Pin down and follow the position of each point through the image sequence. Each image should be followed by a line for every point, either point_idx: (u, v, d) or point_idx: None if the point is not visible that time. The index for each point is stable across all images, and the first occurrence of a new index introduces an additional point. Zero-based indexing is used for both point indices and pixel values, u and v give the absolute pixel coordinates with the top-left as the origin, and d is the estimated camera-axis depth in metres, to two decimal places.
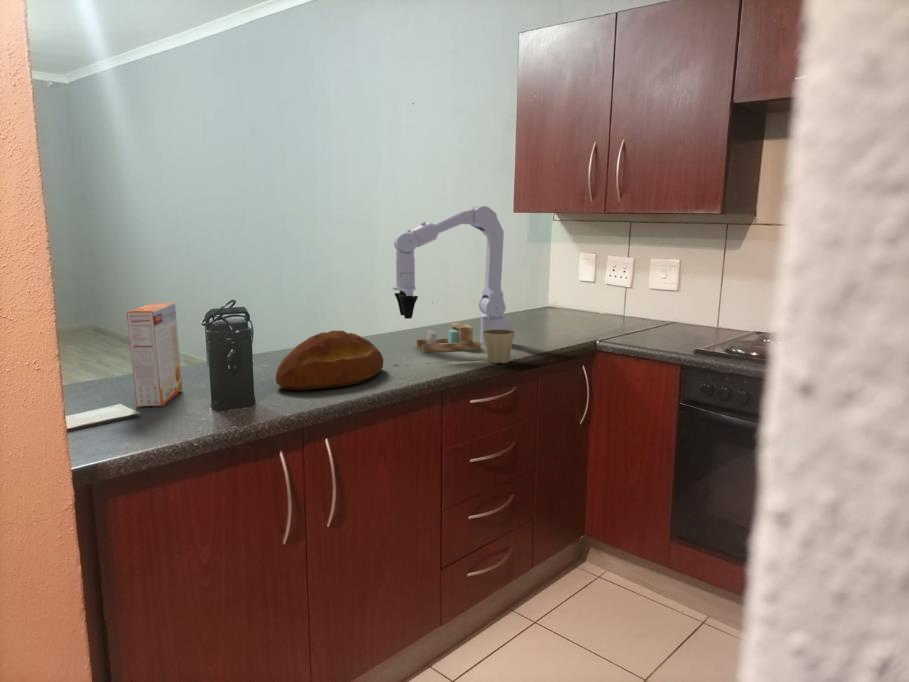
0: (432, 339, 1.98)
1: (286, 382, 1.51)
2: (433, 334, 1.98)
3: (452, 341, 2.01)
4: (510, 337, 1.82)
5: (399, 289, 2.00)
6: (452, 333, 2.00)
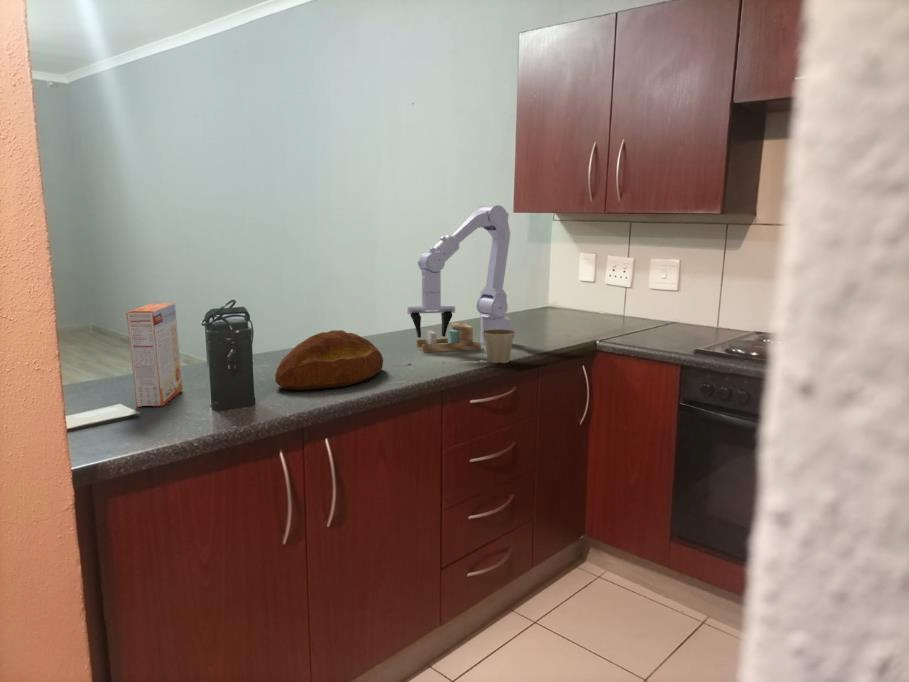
0: (432, 339, 1.98)
1: (286, 382, 1.51)
2: (433, 334, 1.98)
3: (452, 341, 2.01)
4: (510, 337, 1.82)
5: None
6: (452, 333, 2.00)
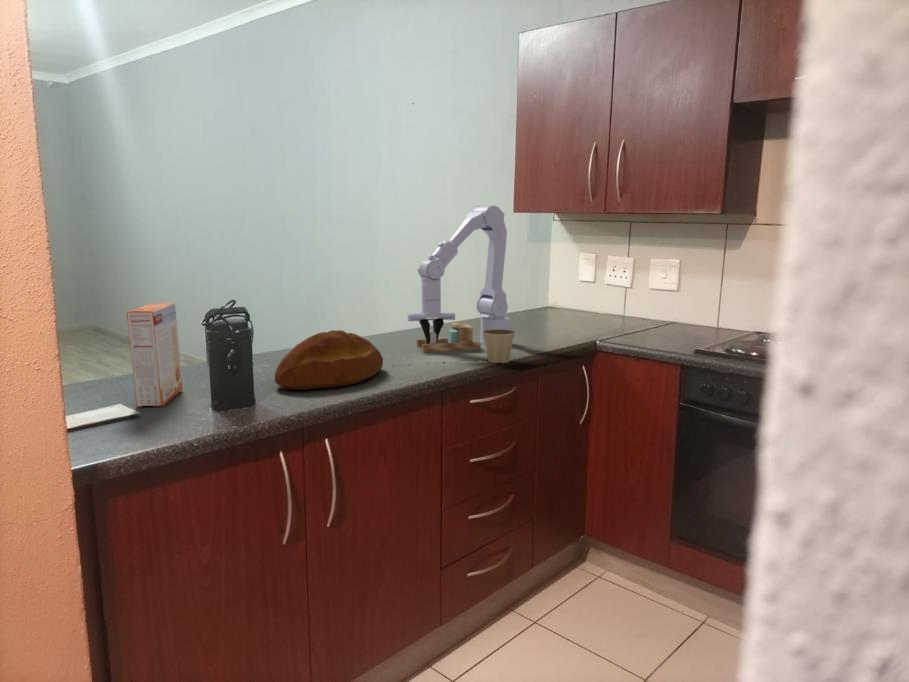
0: (432, 339, 1.98)
1: (285, 382, 1.52)
2: (433, 334, 1.98)
3: (452, 341, 2.01)
4: (510, 337, 1.82)
5: None
6: (452, 333, 2.00)
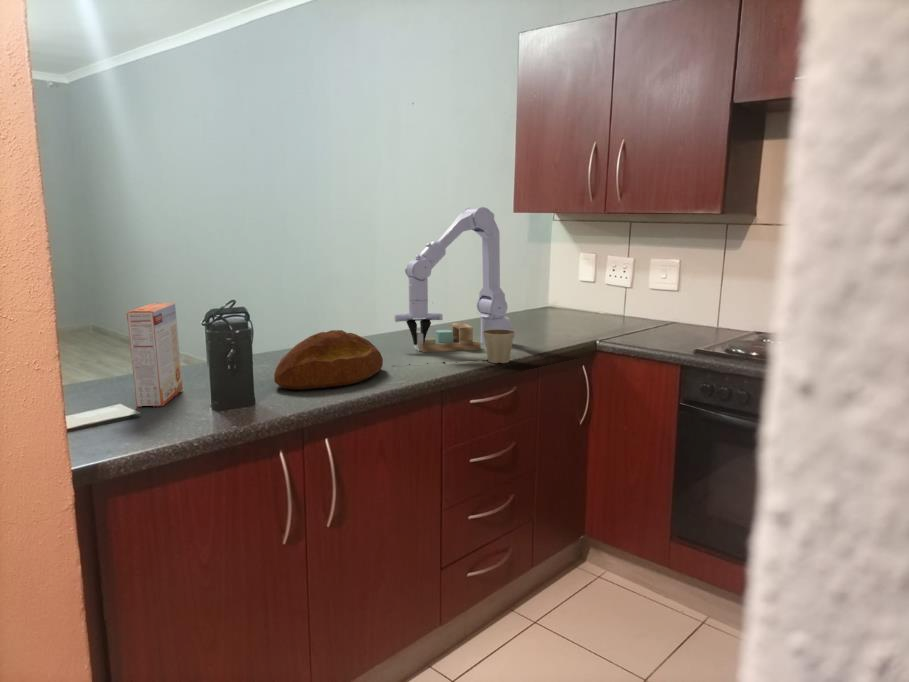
0: (419, 340, 1.97)
1: (284, 381, 1.52)
2: (420, 335, 1.97)
3: (439, 342, 2.00)
4: (510, 337, 1.82)
5: None
6: (439, 334, 1.99)
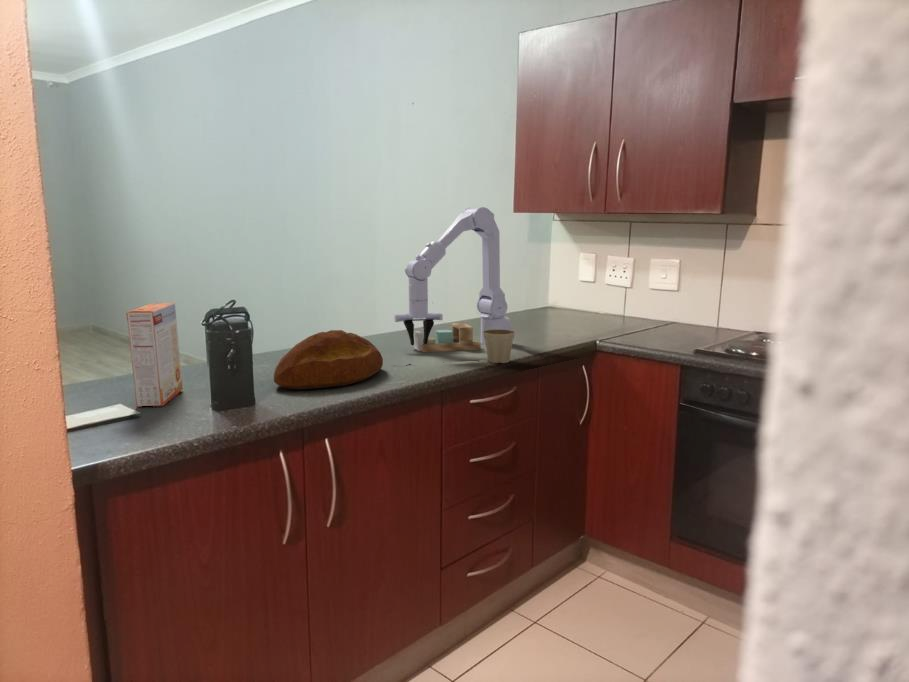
0: (419, 340, 1.97)
1: (284, 381, 1.52)
2: (420, 335, 1.97)
3: (439, 342, 2.00)
4: (510, 337, 1.82)
5: None
6: (439, 334, 1.99)
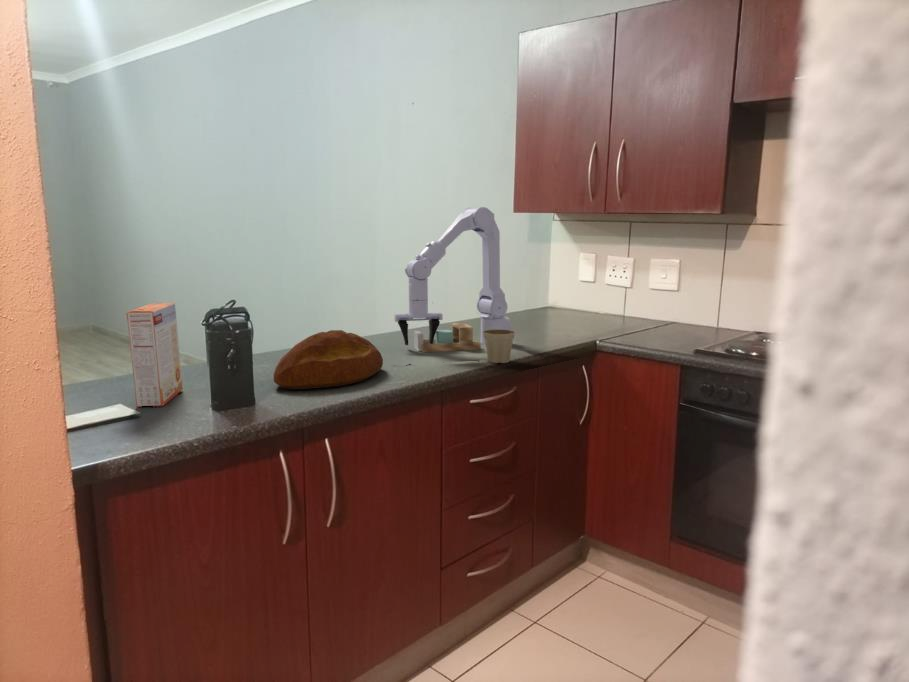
0: (419, 340, 1.97)
1: (283, 381, 1.52)
2: (420, 335, 1.97)
3: (439, 342, 2.00)
4: (510, 337, 1.82)
5: None
6: (439, 334, 1.99)
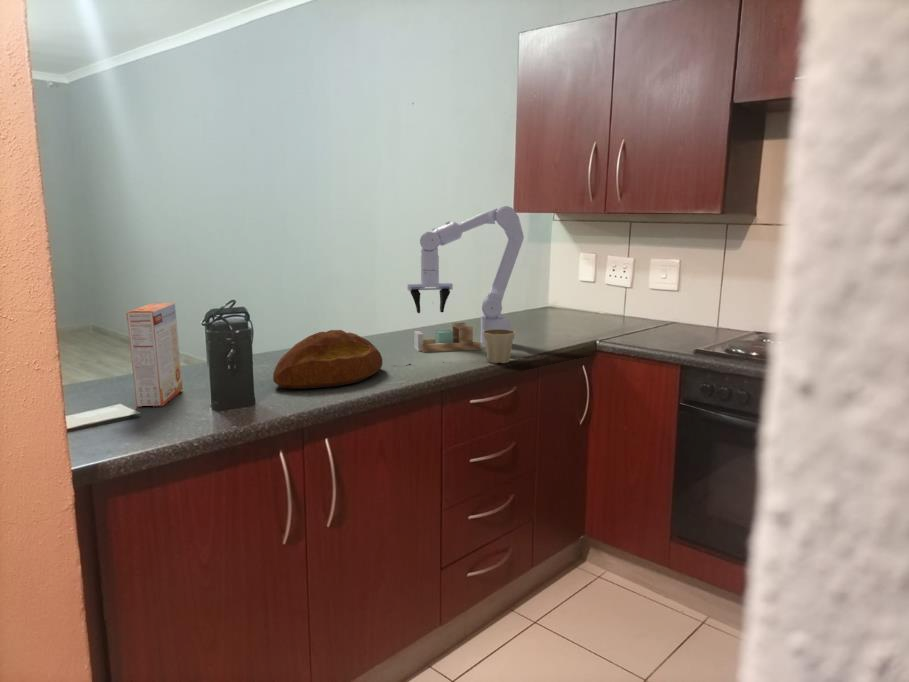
0: (419, 340, 1.97)
1: (283, 381, 1.52)
2: (420, 335, 1.97)
3: (439, 342, 2.00)
4: (510, 337, 1.82)
5: None
6: (439, 334, 1.99)
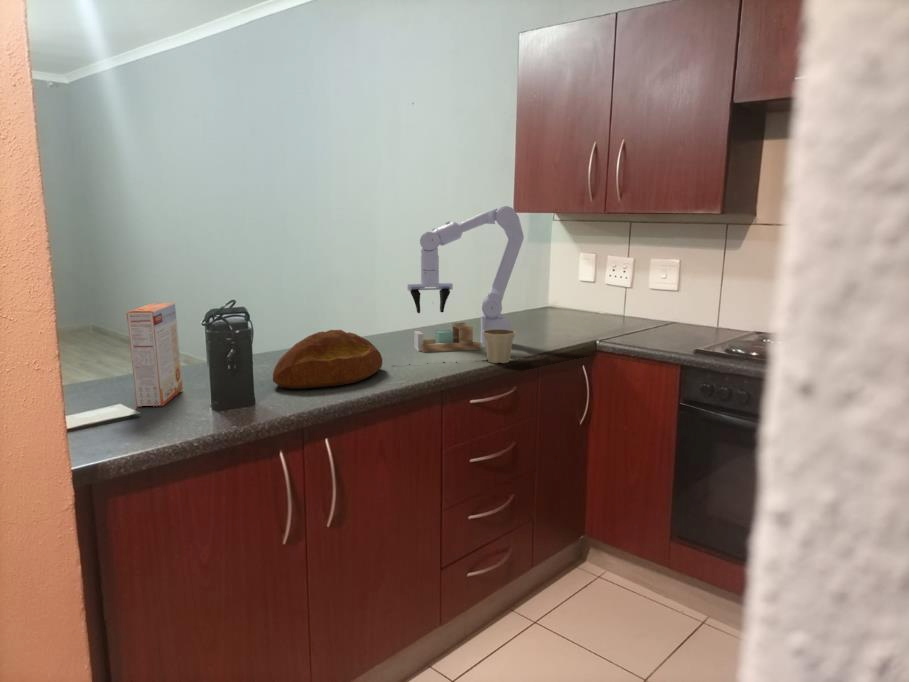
0: (419, 340, 1.97)
1: (282, 381, 1.53)
2: (420, 335, 1.97)
3: (439, 342, 2.00)
4: (510, 337, 1.82)
5: None
6: (439, 334, 1.99)
